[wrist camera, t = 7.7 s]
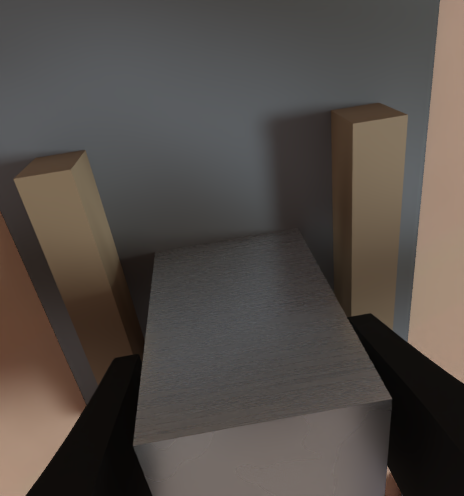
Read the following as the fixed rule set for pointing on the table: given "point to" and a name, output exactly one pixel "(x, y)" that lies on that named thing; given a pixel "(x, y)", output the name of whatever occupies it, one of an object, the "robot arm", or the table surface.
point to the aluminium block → (256, 378)
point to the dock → (209, 148)
